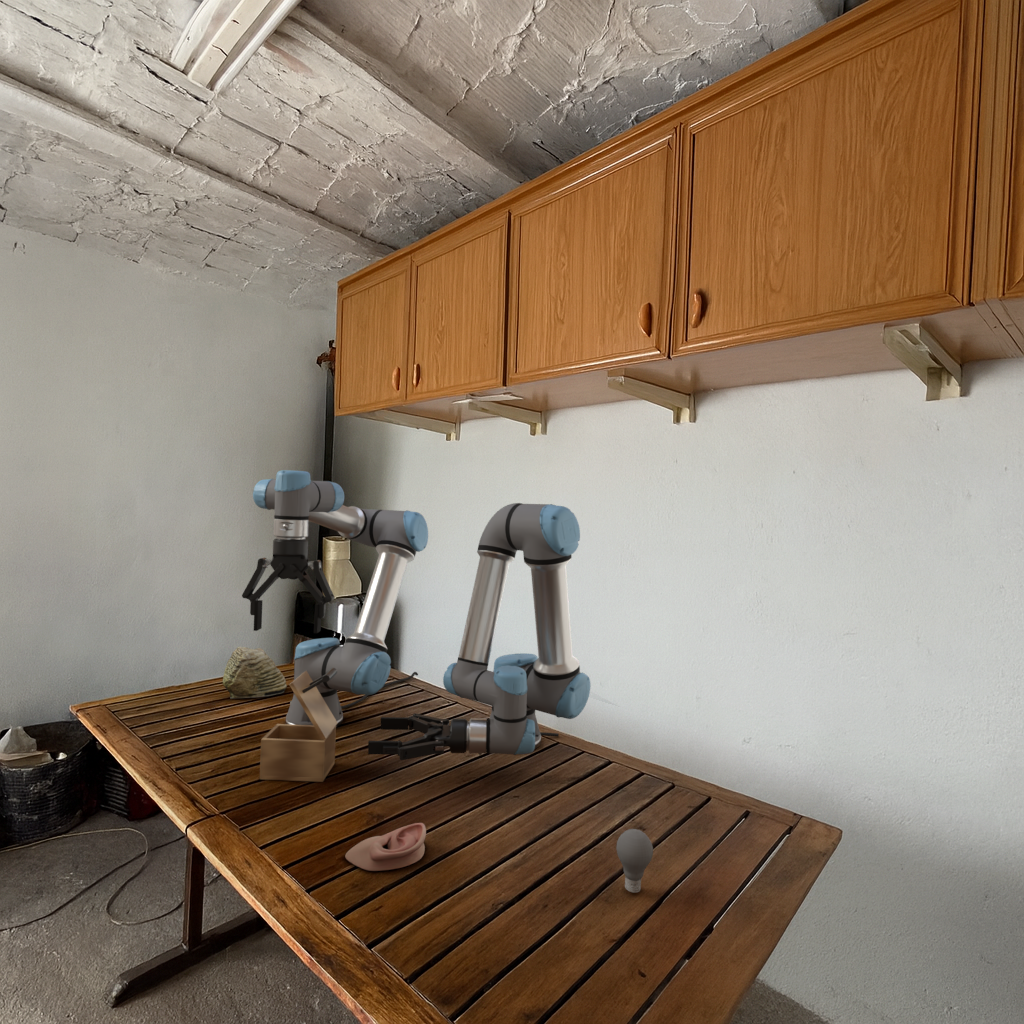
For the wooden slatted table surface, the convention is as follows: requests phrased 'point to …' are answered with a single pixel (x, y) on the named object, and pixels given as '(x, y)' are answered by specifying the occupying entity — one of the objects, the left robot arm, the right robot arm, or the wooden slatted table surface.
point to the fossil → (252, 674)
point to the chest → (296, 753)
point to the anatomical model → (390, 849)
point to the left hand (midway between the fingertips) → (287, 631)
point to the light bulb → (634, 857)
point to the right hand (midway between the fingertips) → (374, 734)
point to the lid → (315, 701)
